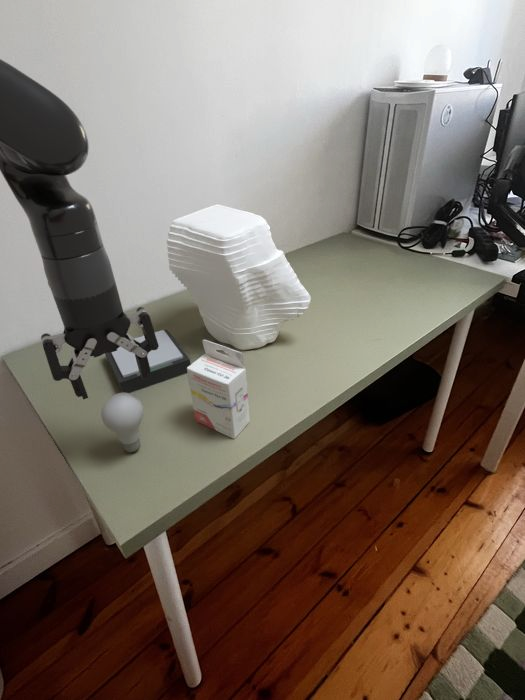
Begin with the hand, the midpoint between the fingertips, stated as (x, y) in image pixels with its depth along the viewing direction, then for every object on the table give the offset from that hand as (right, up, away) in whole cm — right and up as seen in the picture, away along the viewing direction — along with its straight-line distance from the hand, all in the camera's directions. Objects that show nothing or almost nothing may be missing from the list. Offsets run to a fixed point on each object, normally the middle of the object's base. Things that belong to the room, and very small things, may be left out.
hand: (115, 385), depth 63 cm
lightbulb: (0, -11, +7) cm, 13 cm away
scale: (-2, +2, +27) cm, 27 cm away
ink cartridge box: (+15, -7, +12) cm, 20 cm away
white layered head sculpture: (+16, +8, +35) cm, 39 cm away
